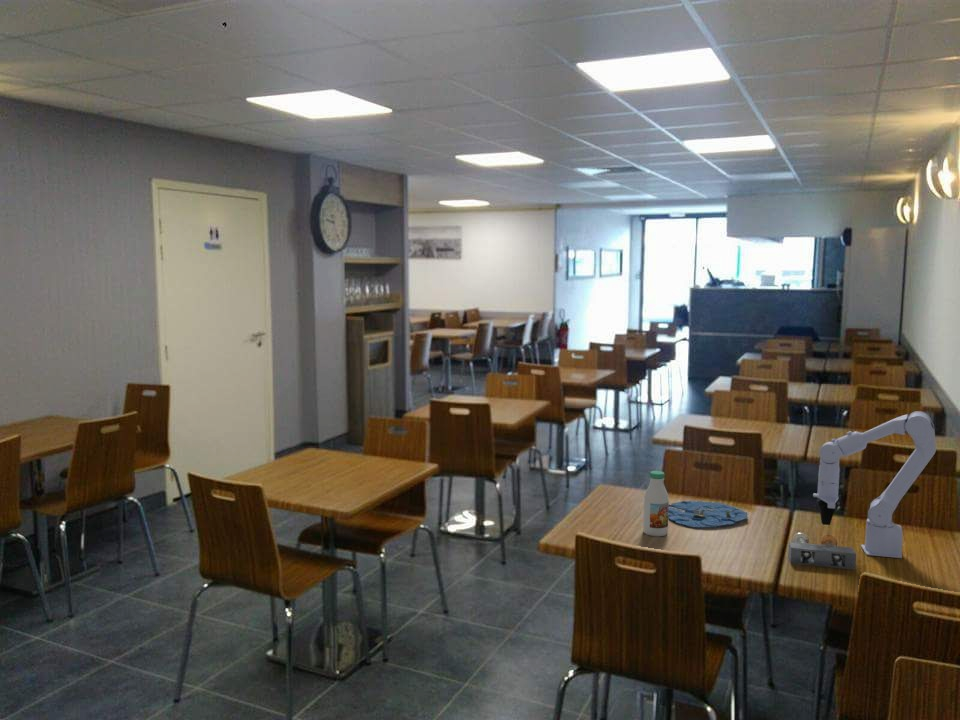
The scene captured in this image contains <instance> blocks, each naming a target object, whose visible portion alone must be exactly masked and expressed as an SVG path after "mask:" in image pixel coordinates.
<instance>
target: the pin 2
mask: <svg viewBox="0 0 960 720" xmlns="http://www.w3.org/2000/svg"><path fill="white" fill-rule="evenodd" d="M820 545H830V546H839V545H838V541H837V539H836V537H835V536H833V535H831V534H826V535H823V537H821V539H820ZM831 559H833V560H834V561H835V562H840V561H841V560H842V555H841V554H832V557H831Z"/></svg>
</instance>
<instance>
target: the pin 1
mask: <svg viewBox="0 0 960 720" xmlns="http://www.w3.org/2000/svg"><path fill="white" fill-rule="evenodd" d="M809 541H810V540H809V538H808V535H807V534H805V533H804V532H796V533H795V534H794V535H793V536H792V542H797V543H808V544H810V542H809ZM801 556H802V557H803V558H805V559H810V558H811V556H812V552H809V551H801Z"/></svg>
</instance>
